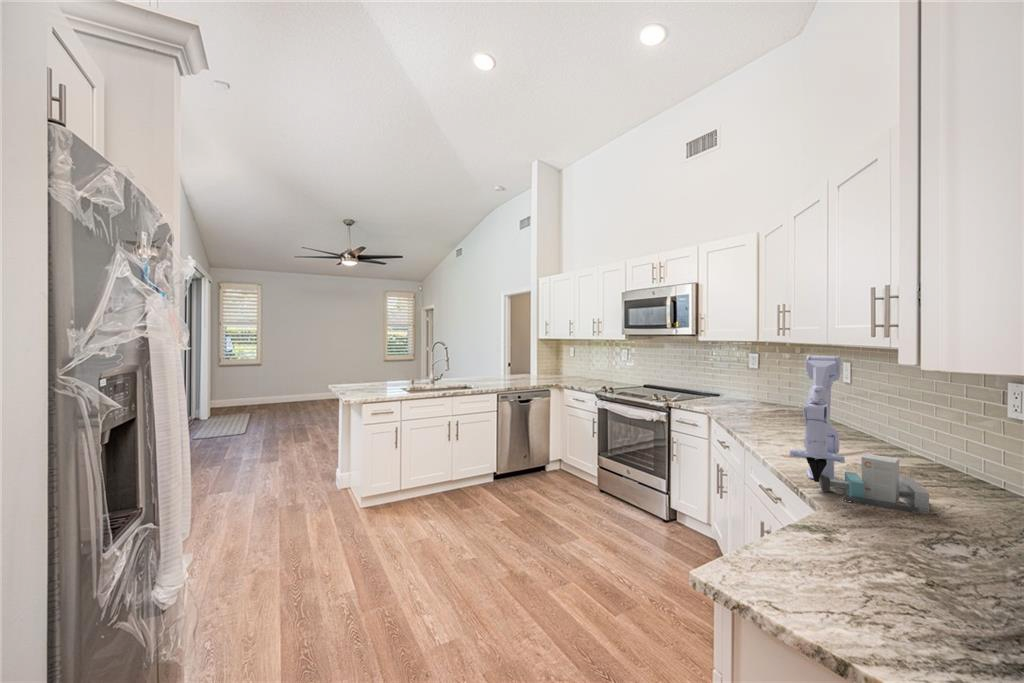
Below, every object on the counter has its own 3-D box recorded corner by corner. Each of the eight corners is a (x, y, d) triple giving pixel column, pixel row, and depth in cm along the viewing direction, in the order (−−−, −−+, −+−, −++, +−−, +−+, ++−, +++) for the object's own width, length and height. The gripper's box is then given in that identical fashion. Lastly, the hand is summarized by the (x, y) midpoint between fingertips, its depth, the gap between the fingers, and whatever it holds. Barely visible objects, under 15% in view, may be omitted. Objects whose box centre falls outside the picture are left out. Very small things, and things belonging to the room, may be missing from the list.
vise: (835, 485, 139) (835, 468, 139) (911, 496, 129) (911, 477, 129) (844, 501, 126) (844, 481, 126) (929, 514, 116) (929, 493, 116)
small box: (899, 500, 126) (899, 458, 126) (896, 506, 122) (896, 462, 122) (865, 492, 132) (865, 452, 132) (861, 497, 128) (861, 456, 128)
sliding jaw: (818, 484, 139) (818, 468, 139) (856, 489, 134) (856, 473, 134) (823, 495, 130) (823, 478, 130) (864, 501, 125) (864, 483, 125)
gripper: (790, 440, 135) (790, 480, 136) (846, 445, 128) (846, 488, 128) (789, 435, 142) (789, 474, 142) (842, 440, 134) (842, 481, 134)
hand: (816, 480), depth 135 cm, fingers closed
